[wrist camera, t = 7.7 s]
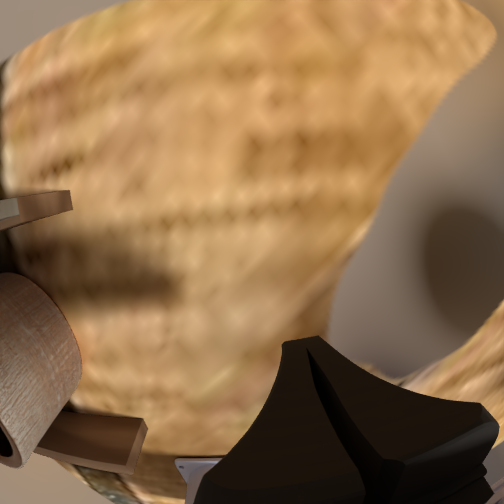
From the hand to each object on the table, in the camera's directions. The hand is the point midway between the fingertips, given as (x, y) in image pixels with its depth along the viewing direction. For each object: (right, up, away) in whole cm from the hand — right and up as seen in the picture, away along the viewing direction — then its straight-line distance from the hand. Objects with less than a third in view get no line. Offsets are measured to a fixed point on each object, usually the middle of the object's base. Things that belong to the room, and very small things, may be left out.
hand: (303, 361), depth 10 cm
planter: (-19, -3, +8) cm, 21 cm away
